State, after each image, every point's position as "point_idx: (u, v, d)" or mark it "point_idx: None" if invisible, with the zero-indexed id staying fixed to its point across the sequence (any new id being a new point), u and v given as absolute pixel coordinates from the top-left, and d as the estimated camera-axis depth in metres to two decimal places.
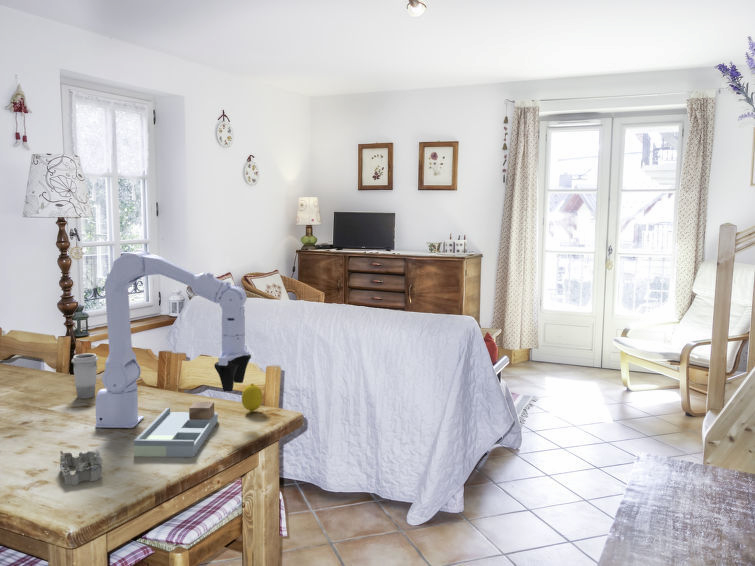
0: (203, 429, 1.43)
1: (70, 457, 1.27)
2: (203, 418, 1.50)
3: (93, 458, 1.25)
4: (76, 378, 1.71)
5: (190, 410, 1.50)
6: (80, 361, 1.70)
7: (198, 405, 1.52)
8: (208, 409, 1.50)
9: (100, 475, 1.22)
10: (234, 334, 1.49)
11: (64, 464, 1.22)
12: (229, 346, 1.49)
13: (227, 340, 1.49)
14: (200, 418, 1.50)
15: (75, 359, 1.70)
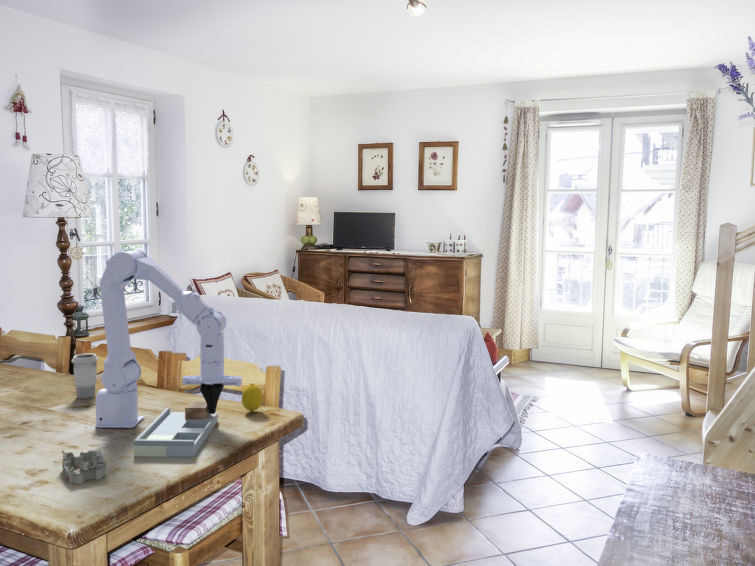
0: (203, 429, 1.43)
1: (71, 456, 1.27)
2: (199, 418, 1.50)
3: (96, 457, 1.26)
4: (76, 378, 1.71)
5: (186, 410, 1.50)
6: (80, 361, 1.70)
7: (194, 405, 1.52)
8: (204, 409, 1.50)
9: (104, 473, 1.23)
10: (212, 361, 1.48)
11: (67, 464, 1.22)
12: None
13: None
14: (196, 418, 1.50)
15: (75, 359, 1.70)
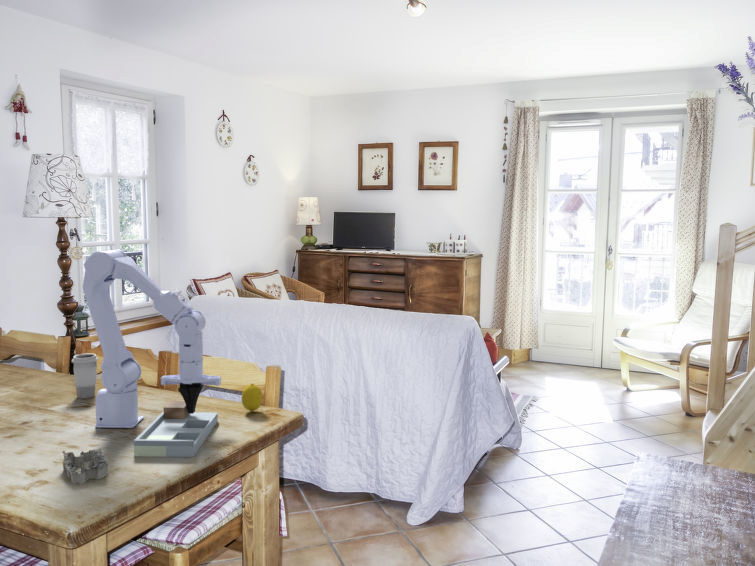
0: (203, 429, 1.43)
1: (72, 456, 1.27)
2: (177, 418, 1.50)
3: (97, 456, 1.26)
4: (76, 378, 1.71)
5: (164, 410, 1.49)
6: (80, 361, 1.70)
7: (173, 404, 1.51)
8: (182, 409, 1.50)
9: (106, 473, 1.23)
10: (190, 360, 1.48)
11: (68, 463, 1.22)
12: None
13: None
14: (174, 418, 1.50)
15: (75, 359, 1.70)
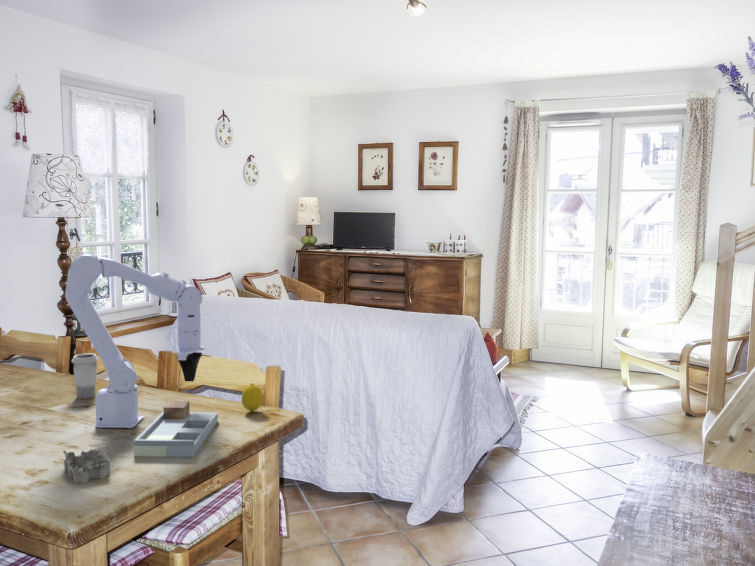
0: (203, 429, 1.43)
1: (72, 456, 1.27)
2: (177, 418, 1.50)
3: (98, 456, 1.26)
4: (76, 378, 1.71)
5: (164, 410, 1.49)
6: (80, 361, 1.70)
7: (173, 404, 1.51)
8: (182, 409, 1.50)
9: (108, 472, 1.23)
10: (194, 330, 1.56)
11: (70, 463, 1.22)
12: (186, 342, 1.55)
13: (184, 336, 1.55)
14: (174, 418, 1.50)
15: (75, 359, 1.70)
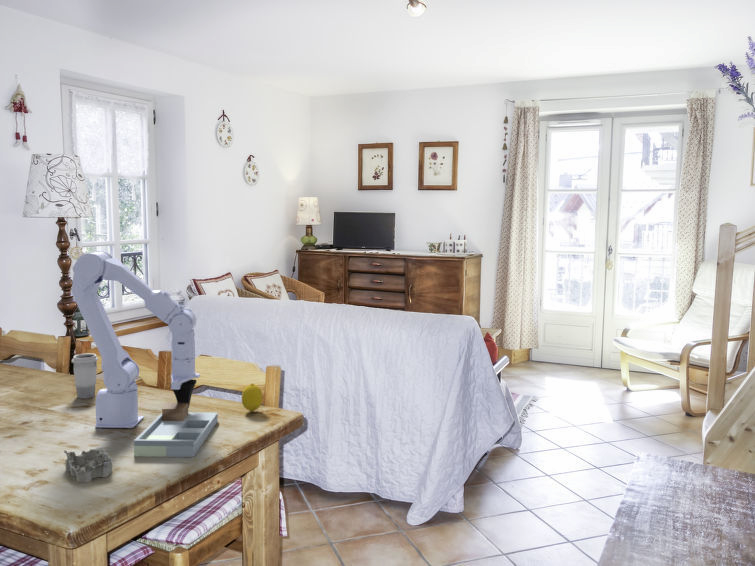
0: (203, 429, 1.43)
1: (73, 456, 1.27)
2: (176, 419, 1.49)
3: (99, 455, 1.27)
4: (76, 378, 1.71)
5: (163, 411, 1.48)
6: (80, 361, 1.70)
7: (172, 406, 1.50)
8: (181, 410, 1.48)
9: (110, 471, 1.24)
10: (184, 358, 1.51)
11: (72, 463, 1.23)
12: (180, 369, 1.51)
13: (178, 364, 1.50)
14: (173, 419, 1.49)
15: (75, 359, 1.70)
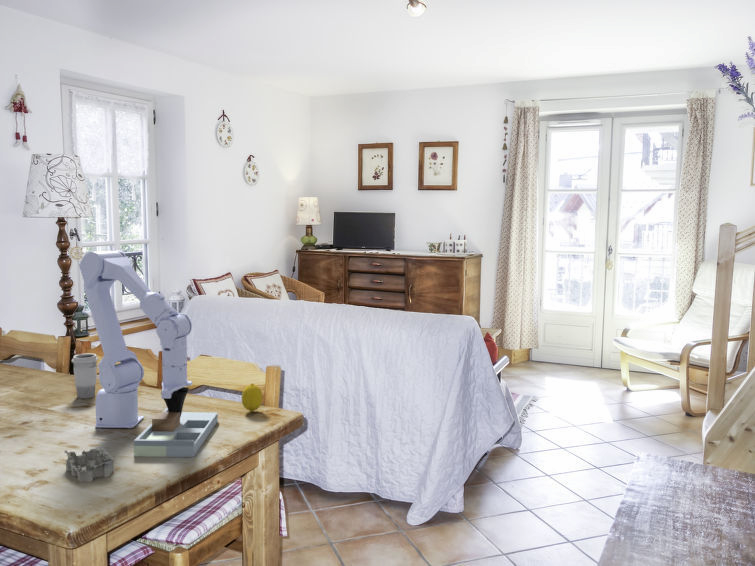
0: (203, 429, 1.43)
1: (74, 456, 1.27)
2: (167, 430, 1.41)
3: (100, 455, 1.27)
4: (76, 378, 1.71)
5: (153, 421, 1.41)
6: (80, 361, 1.70)
7: (162, 416, 1.43)
8: (172, 420, 1.41)
9: (112, 470, 1.24)
10: (170, 365, 1.43)
11: (73, 463, 1.23)
12: (171, 377, 1.43)
13: (169, 371, 1.43)
14: (164, 430, 1.41)
15: (75, 359, 1.70)
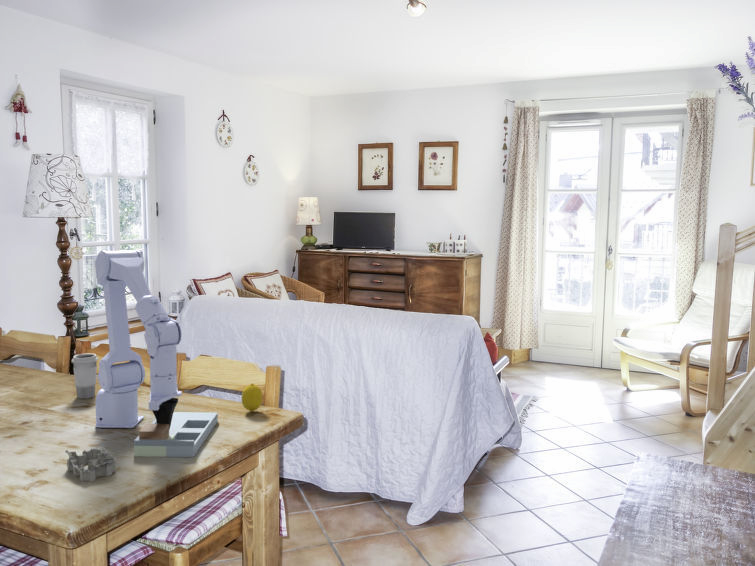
0: (203, 429, 1.43)
1: (74, 456, 1.27)
2: None
3: (101, 454, 1.27)
4: (76, 378, 1.71)
5: (140, 434, 1.33)
6: (80, 361, 1.70)
7: (150, 428, 1.35)
8: (160, 433, 1.33)
9: (114, 470, 1.24)
10: (154, 374, 1.35)
11: (75, 462, 1.23)
12: (159, 387, 1.35)
13: (157, 381, 1.35)
14: None
15: (75, 359, 1.70)
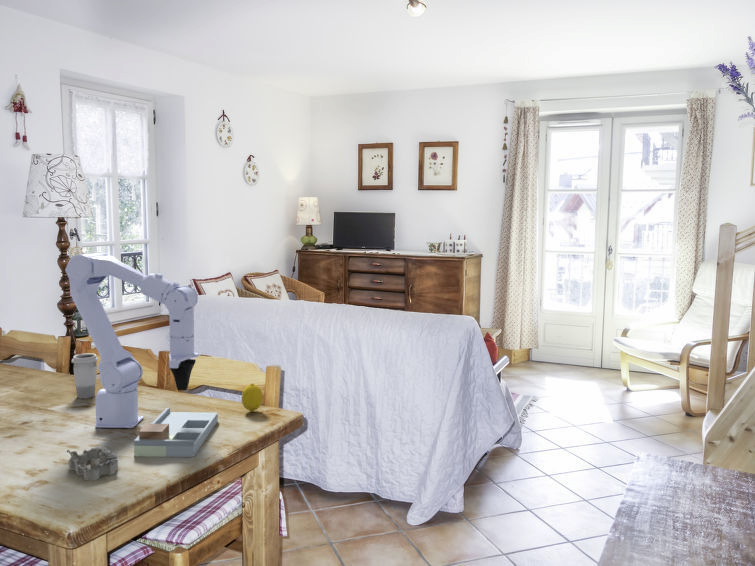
0: (203, 429, 1.43)
1: (75, 455, 1.27)
2: None
3: (102, 454, 1.28)
4: (76, 378, 1.71)
5: (140, 434, 1.33)
6: (80, 361, 1.70)
7: (150, 428, 1.35)
8: (160, 433, 1.33)
9: (116, 468, 1.25)
10: (179, 336, 1.45)
11: (77, 462, 1.23)
12: (178, 348, 1.45)
13: (176, 342, 1.45)
14: None
15: (75, 359, 1.70)
